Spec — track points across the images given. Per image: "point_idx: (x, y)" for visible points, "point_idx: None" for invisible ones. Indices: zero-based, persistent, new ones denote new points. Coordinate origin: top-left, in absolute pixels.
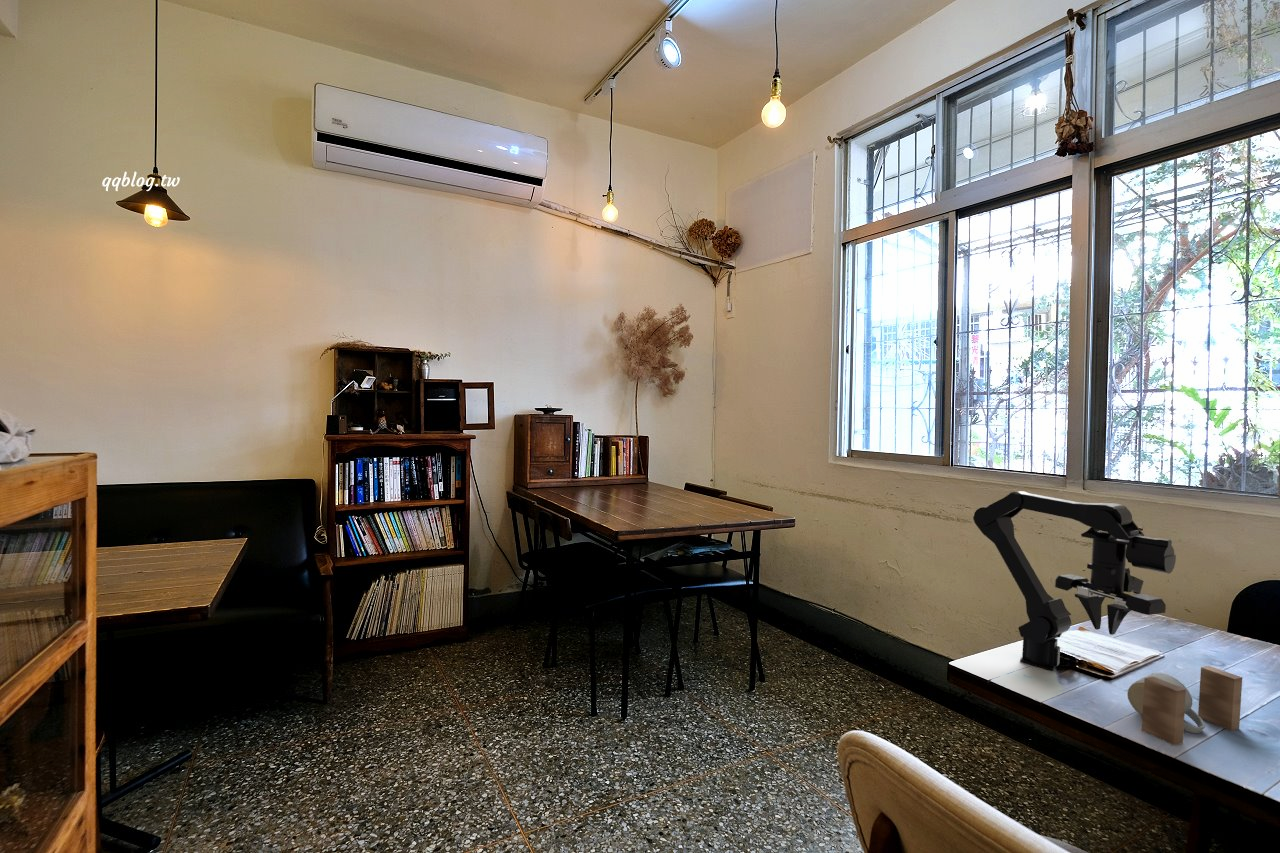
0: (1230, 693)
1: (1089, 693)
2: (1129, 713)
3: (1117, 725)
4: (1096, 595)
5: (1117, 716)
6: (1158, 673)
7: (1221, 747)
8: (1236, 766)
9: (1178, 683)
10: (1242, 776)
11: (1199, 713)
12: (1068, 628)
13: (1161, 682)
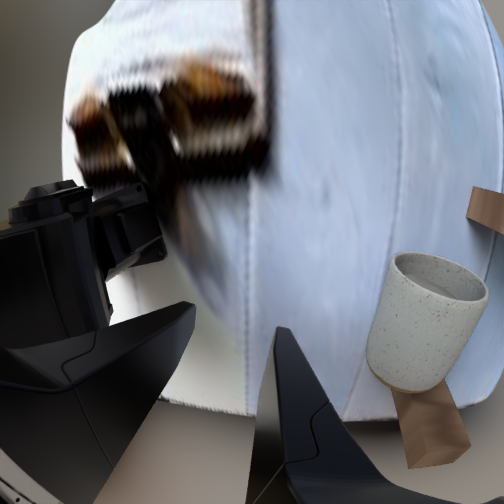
0: None
1: (278, 313)
2: (366, 340)
3: (357, 399)
4: (2, 466)
5: (352, 371)
6: (445, 313)
7: (484, 327)
8: (485, 366)
9: (479, 316)
10: (482, 384)
11: (472, 219)
12: (87, 230)
13: (436, 459)
